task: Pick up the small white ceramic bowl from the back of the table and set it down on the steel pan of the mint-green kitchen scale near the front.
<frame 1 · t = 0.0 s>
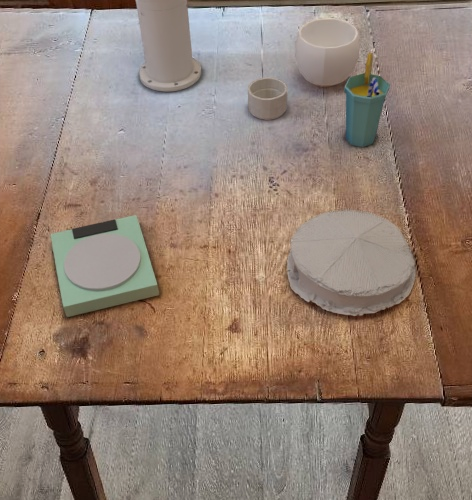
cup: (361, 142, 123), on the table
scale: (104, 269, 106), on the table
grey round cake: (349, 270, 104), on the table
bowl: (267, 109, 130), on the table
cup 2: (324, 80, 136), on the table
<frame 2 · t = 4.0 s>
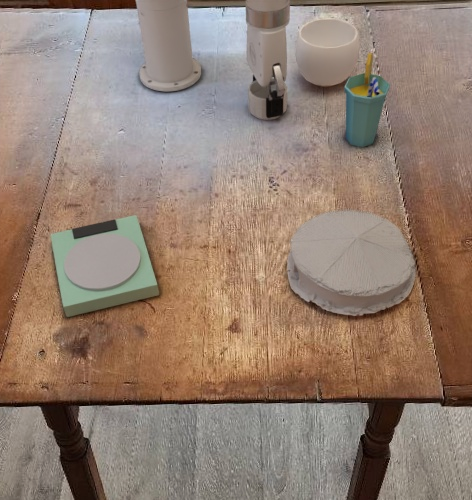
hand: (267, 103, 129), 1 cm above the table, tool pointing down, fingers closed on bowl, 7 cm apart
bowl: (267, 109, 130), on the table, touching gripper
everything else where it was.
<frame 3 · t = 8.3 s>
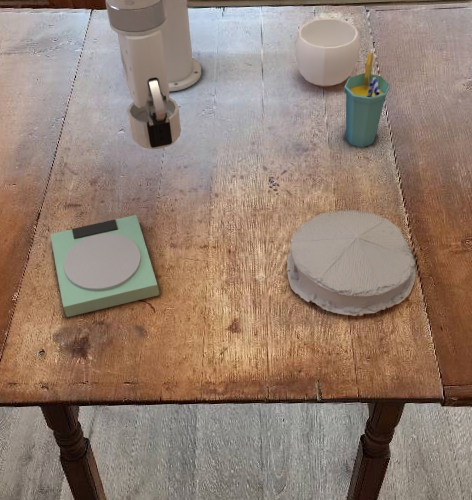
hand: (155, 128, 100), 16 cm above the table, tool pointing down, fingers closed on bowl, 7 cm apart
bowl: (156, 135, 102), point 15 cm above the table, touching gripper
everything else where it was.
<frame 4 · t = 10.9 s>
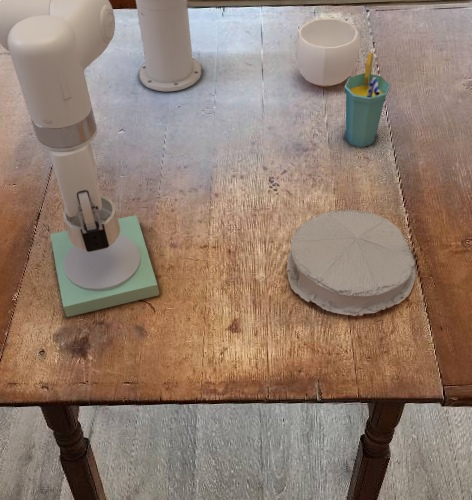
hand: (93, 228, 98), 9 cm above the table, tool pointing down, fingers closed on bowl, 7 cm apart
bowl: (95, 235, 99), point 8 cm above the table, touching gripper
everything else where it was.
when the fingers open (4 cm above the table, at t = 12.8 s): bowl stays where it is, resting on scale.
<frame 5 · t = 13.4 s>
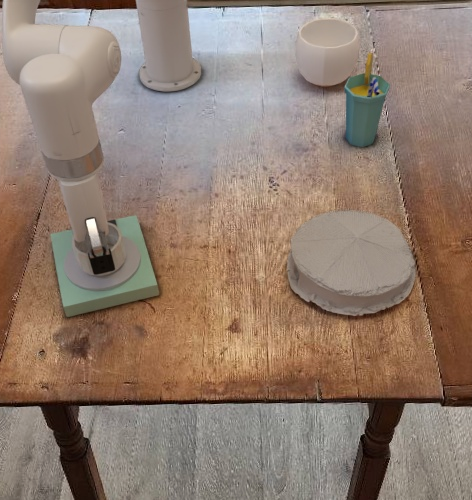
hand: (99, 248, 101), 5 cm above the table, tool pointing down, fingers open, 9 cm apart
bowl: (102, 259, 103), point 3 cm above the table, touching scale
everything else where it was.
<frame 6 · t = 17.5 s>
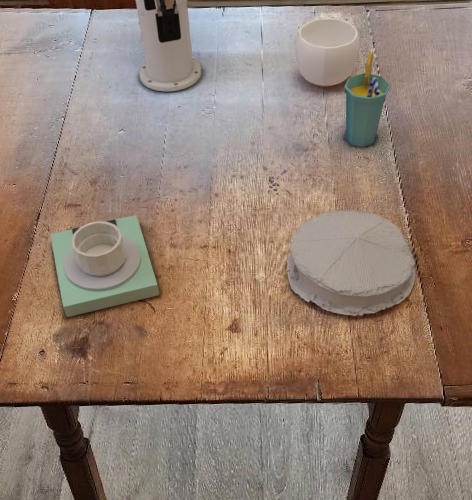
hand: (162, 23, 99), 26 cm above the table, tool pointing down, fingers open, 9 cm apart
nothing on the table moved.
at the end: bowl inside the target area on the scale (0.1 cm from its centre), point 3.0 cm above the scale's base; bowl tilted 0°; the gripper is holding nothing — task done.
